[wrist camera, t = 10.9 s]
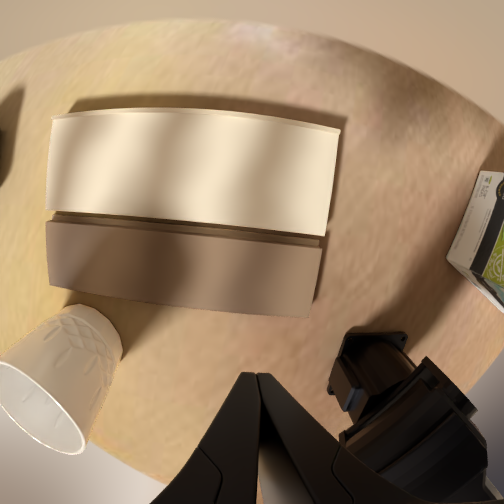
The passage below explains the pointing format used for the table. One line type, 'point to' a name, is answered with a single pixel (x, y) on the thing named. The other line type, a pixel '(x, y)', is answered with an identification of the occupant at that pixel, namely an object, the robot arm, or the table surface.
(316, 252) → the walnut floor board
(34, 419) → the white cup
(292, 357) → the table surface
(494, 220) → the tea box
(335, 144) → the pale oak plank
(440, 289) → the table surface
